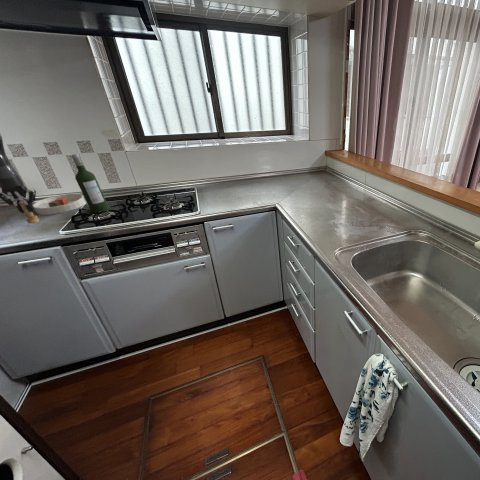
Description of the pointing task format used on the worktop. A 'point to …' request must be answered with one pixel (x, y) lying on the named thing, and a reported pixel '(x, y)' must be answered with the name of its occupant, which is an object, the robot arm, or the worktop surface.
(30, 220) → the muddler
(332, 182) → the worktop surface
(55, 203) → the walnut block
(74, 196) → the bowl
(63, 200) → the terracotta block
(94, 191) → the wine bottle
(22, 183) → the robot arm
